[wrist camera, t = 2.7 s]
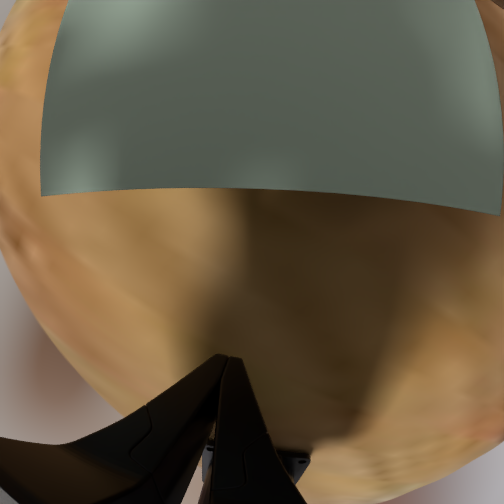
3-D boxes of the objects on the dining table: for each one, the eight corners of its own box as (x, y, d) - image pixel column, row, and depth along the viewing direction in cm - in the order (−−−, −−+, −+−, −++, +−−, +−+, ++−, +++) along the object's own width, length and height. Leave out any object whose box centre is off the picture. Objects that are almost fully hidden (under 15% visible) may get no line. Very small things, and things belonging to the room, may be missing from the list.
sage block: (425, 195, 9) (499, 215, 5) (121, 182, 10) (41, 196, 6) (417, 35, 7) (469, -12, 3) (132, 31, 8) (72, -10, 4)
